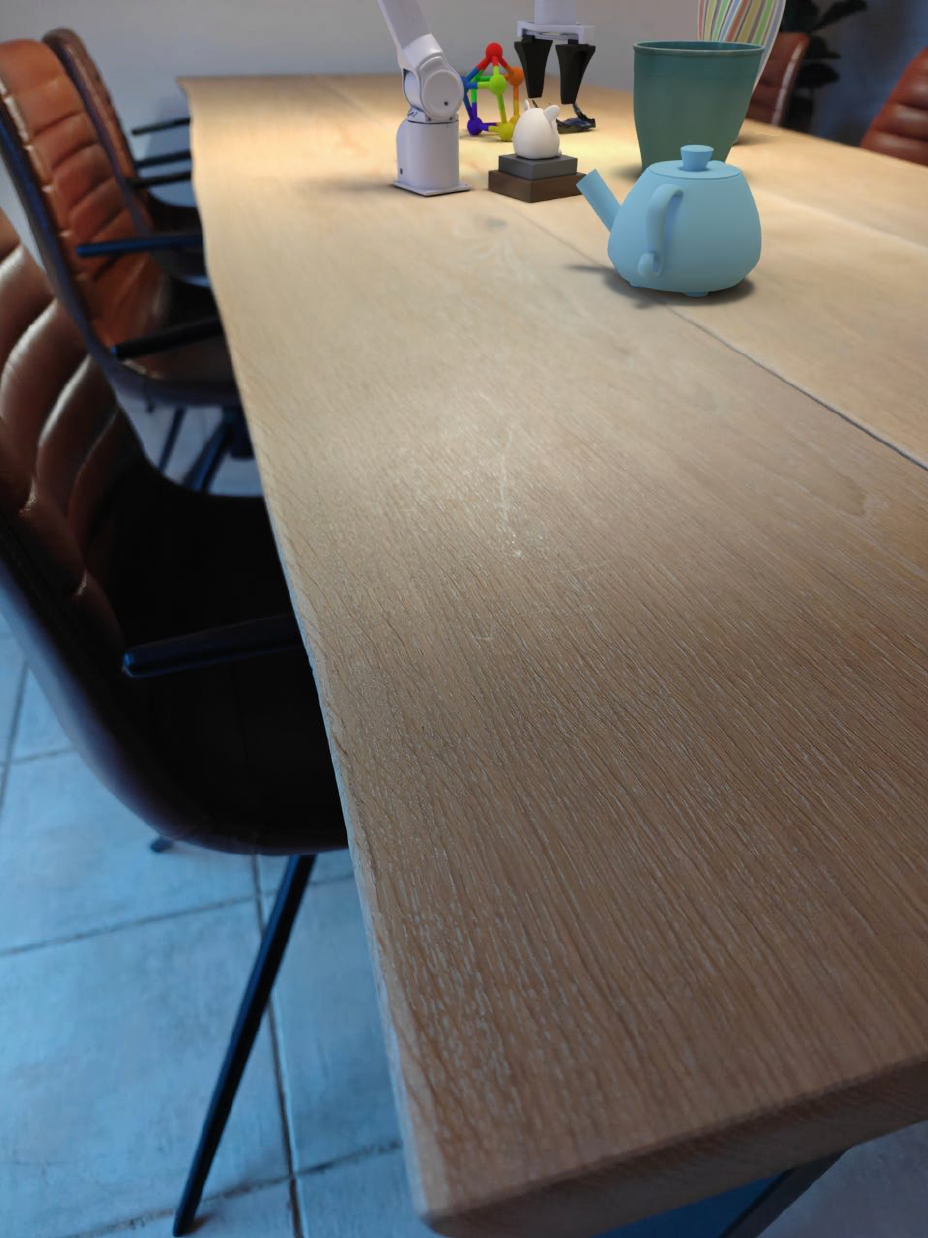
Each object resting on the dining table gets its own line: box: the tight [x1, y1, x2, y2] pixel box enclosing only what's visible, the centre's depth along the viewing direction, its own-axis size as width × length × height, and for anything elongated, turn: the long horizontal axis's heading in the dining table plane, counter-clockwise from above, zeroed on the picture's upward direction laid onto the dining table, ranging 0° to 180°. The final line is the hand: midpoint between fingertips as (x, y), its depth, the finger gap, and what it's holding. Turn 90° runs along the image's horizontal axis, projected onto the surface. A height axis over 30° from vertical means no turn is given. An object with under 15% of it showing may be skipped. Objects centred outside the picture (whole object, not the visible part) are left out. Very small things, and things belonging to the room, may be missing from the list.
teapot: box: [576, 145, 762, 298], centre depth 89 cm, size 20×20×13 cm
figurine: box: [512, 99, 563, 159], centre depth 122 cm, size 8×6×7 cm
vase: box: [696, 0, 787, 144], centre depth 147 cm, size 14×14×30 cm
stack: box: [487, 152, 588, 203], centre depth 125 cm, size 10×10×4 cm
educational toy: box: [459, 41, 525, 142], centre depth 158 cm, size 16×13×15 cm
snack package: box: [531, 98, 597, 134], centre depth 168 cm, size 12×6×12 cm
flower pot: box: [632, 39, 765, 175], centre depth 128 cm, size 18×18×17 cm
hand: (551, 100), depth 126 cm, fingers open, 7 cm apart
